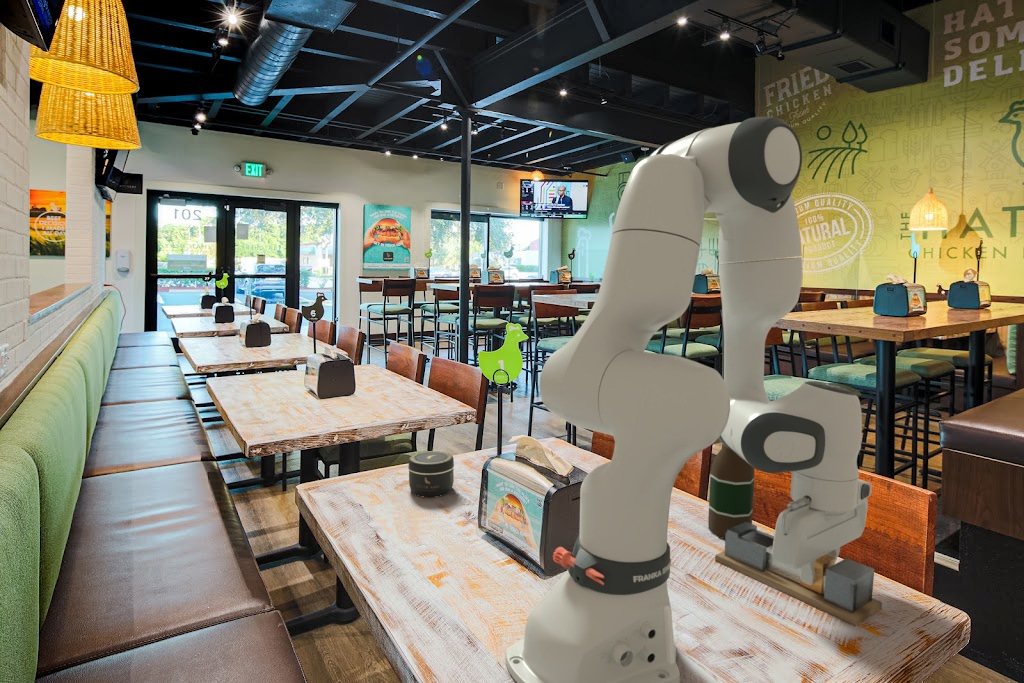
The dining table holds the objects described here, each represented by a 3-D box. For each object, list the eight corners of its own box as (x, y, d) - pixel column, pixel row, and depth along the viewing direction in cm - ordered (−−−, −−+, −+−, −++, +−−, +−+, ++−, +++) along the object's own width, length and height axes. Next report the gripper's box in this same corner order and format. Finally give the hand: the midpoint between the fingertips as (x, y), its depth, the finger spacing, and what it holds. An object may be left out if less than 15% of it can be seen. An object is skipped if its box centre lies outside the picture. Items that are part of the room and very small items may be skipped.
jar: (405, 498, 129) (404, 464, 129) (412, 482, 139) (411, 450, 138) (451, 498, 130) (451, 464, 129) (455, 482, 139) (455, 450, 139)
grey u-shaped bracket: (762, 572, 97) (763, 544, 96) (724, 555, 102) (725, 528, 102) (781, 563, 100) (782, 535, 99) (743, 547, 105) (744, 521, 105)
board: (855, 625, 84) (856, 618, 84) (715, 560, 103) (715, 554, 102) (881, 608, 88) (882, 601, 88) (742, 548, 107) (742, 543, 107)
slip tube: (849, 606, 87) (851, 575, 86) (760, 566, 98) (761, 539, 97) (860, 598, 89) (862, 569, 88) (772, 561, 100) (773, 534, 99)
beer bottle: (755, 543, 109) (762, 412, 106) (710, 538, 111) (716, 410, 108) (747, 525, 117) (754, 403, 114) (705, 521, 118) (711, 401, 115)
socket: (852, 613, 85) (854, 580, 84) (823, 600, 88) (826, 568, 88) (871, 600, 88) (874, 568, 88) (843, 588, 92) (846, 558, 91)
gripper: (806, 512, 82) (800, 608, 83) (877, 482, 93) (870, 567, 95) (763, 498, 87) (758, 589, 89) (836, 471, 99) (830, 552, 100)
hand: (817, 577), depth 92 cm, fingers closed on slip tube, 3 cm apart
